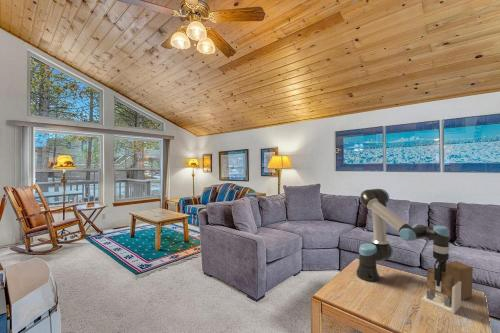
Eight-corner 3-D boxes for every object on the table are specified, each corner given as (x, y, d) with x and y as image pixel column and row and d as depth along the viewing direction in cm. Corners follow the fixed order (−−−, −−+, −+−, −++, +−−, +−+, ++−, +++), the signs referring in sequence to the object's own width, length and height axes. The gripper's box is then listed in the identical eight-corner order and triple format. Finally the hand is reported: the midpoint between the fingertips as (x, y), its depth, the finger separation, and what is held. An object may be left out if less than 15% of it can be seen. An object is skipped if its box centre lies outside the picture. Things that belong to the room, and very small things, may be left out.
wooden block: (461, 300, 150) (462, 269, 149) (444, 291, 159) (445, 262, 158) (472, 298, 152) (473, 267, 151) (455, 289, 162) (456, 260, 161)
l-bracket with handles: (421, 300, 150) (422, 276, 149) (428, 293, 157) (429, 271, 156) (454, 314, 137) (454, 288, 136) (460, 306, 144) (461, 281, 143)
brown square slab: (427, 288, 151) (427, 269, 150) (429, 286, 153) (429, 267, 153) (451, 297, 141) (451, 277, 141) (453, 294, 143) (453, 275, 143)
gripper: (443, 257, 138) (442, 297, 139) (453, 250, 148) (452, 287, 149) (427, 253, 144) (427, 291, 145) (438, 246, 154) (437, 282, 155)
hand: (439, 289), depth 147 cm, fingers closed on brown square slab, 4 cm apart
